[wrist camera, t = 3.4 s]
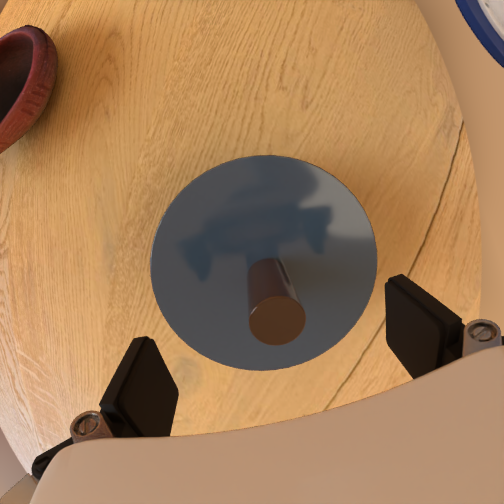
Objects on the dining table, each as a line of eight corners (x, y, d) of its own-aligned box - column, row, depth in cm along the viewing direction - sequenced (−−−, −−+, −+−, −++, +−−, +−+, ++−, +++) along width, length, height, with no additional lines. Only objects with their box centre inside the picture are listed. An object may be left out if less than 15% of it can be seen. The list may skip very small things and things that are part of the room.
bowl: (0, 63, 18) (-42, 52, 10) (81, 25, 18) (41, -4, 10) (-8, 189, 22) (-55, 201, 15) (71, 172, 23) (17, 179, 15)
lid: (351, 137, 16) (405, 126, 10) (375, 332, 19) (413, 385, 13) (128, 191, 16) (74, 206, 10) (195, 375, 20) (183, 438, 14)
